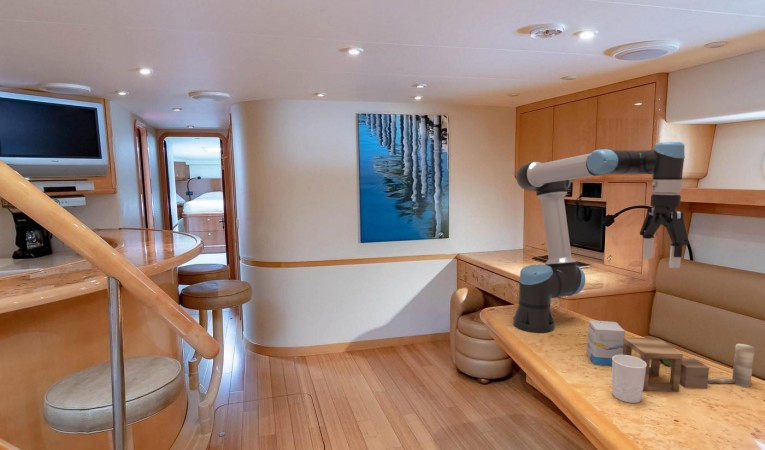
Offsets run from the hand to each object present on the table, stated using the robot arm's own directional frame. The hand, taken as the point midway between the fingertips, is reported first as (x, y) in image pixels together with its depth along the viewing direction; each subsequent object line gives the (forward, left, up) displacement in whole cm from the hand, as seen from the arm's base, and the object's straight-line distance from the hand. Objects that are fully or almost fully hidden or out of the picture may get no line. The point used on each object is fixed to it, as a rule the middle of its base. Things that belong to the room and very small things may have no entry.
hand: (660, 262), depth 131 cm
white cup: (+22, -20, -32) cm, 44 cm away
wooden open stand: (+14, -9, -32) cm, 36 cm away
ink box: (0, -15, -32) cm, 35 cm away
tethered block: (+14, +9, -32) cm, 36 cm away
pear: (0, +4, -32) cm, 32 cm away
